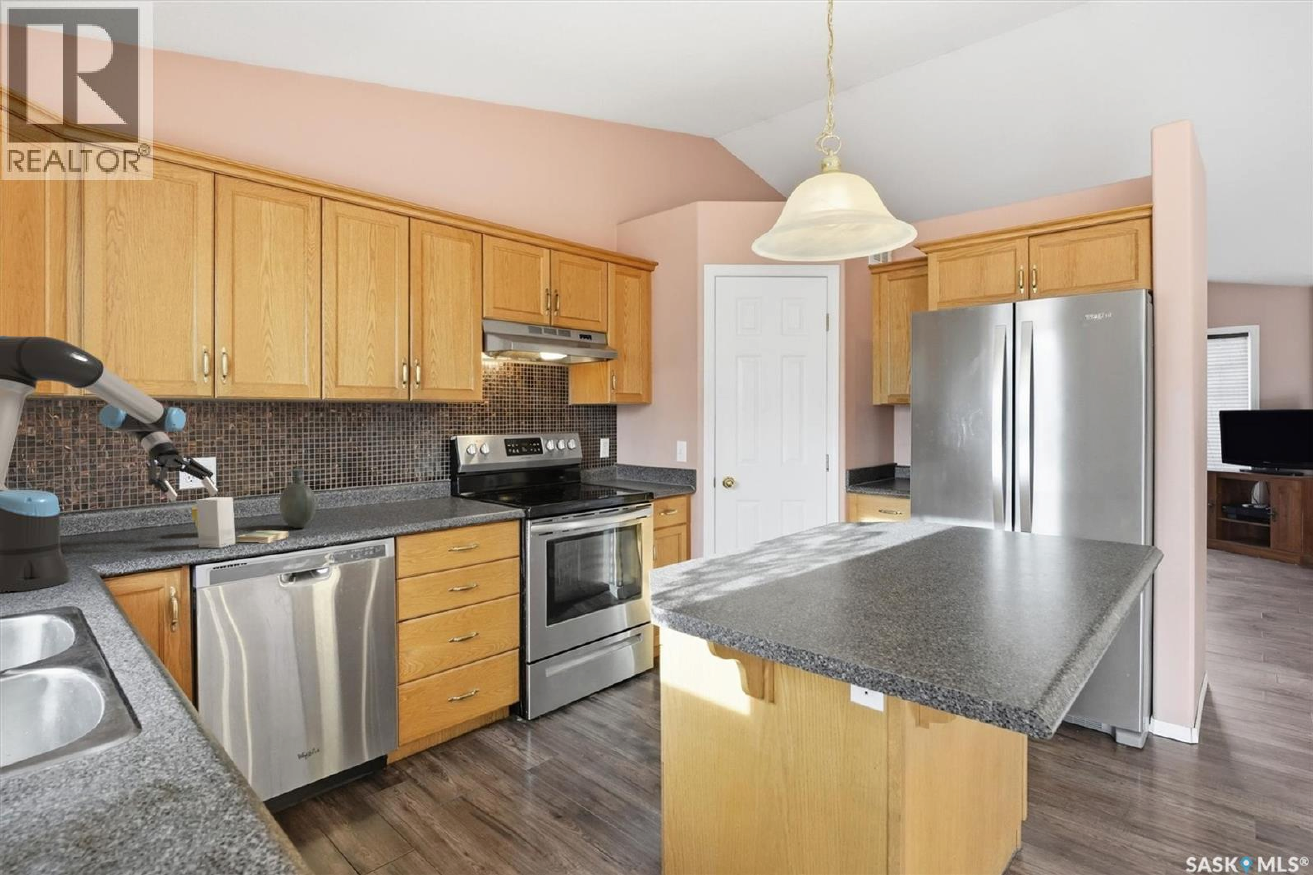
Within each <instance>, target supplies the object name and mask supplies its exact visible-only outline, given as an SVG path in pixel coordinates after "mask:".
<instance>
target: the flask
mask: <svg viewBox="0 0 1313 875" xmlns="http://www.w3.org/2000/svg"><path fill="white" fill-rule="evenodd" d="M304 471H305V469H303V468H293V469H290V470H289V472H291V473H292V475H293V482H292V483H291V482H290V483H289V484H288V485H287V486H286V487H285V488H284V489H283V490H282V491H281V494H280V497H279V504H278V505H279V511H280V515H281V517H282V520H283V521H284V522H285V523H286V524H287V525H288V526H290V527H292V528H294V529H302V528H304V527H306V526H307V525H308V524H309V523H311V521H312V520H313V518H314V516H315V514H316V510H317V499H316V495H315V493H314V491H313V489H312V488H311V487H310V486H309V485H308V484H306V483H304V482H303V481H302V478H303V477H302V475H303V472H304Z"/></svg>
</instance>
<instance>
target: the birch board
mask: <svg viewBox="0 0 1313 875" xmlns="http://www.w3.org/2000/svg"><path fill="white" fill-rule="evenodd" d="M289 533H290V532H289V531H288V530H256V531H255V530H254V531H251V532H247V533H245V534H240V535H237V536H235V543H236V542H259V543H258V544H269V543H273V542H276V540H277V541H279V540H283V539H287V538H289V537H288V536H290V535H289ZM286 537H287V538H286Z"/></svg>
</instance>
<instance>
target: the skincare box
mask: <svg viewBox="0 0 1313 875" xmlns="http://www.w3.org/2000/svg"><path fill="white" fill-rule="evenodd" d="M195 505H196V506H195V507H197V522H198V532H197V536H198V547H199V548H208V549H210V548H212V549H221V548H226V547H230V546H234V545H236V532H235V531H236V530H235V513H234V512H235V511H234V497H231V496H229V497H228V496H227V497H226V496H225V497H224V496H222V497H221V496H219V497H218V496H211V497H204V498H200V499H196V500H195ZM229 545H230V546H229Z"/></svg>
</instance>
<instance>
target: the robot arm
mask: <svg viewBox="0 0 1313 875" xmlns="http://www.w3.org/2000/svg"><path fill="white" fill-rule="evenodd" d="M39 381H40V382H44V381H45V382H46V381H49V382H50V381H51V382H56V383H57V382H58V383H64V384H67V385H69V386H71V387H72V388H75V389H83V390H86V391H88V392H89V393H90V394H92V395H94V396H96V397H98V398H99V399H101V400H103V401H105V402H106V403H108V405H105V406H103V407H102V409H100V411H99V414H98V420H99V422H100V423H101V425H103V426H105V427H107V428H109V429H111V430H115V431H118V432H120V433H124V434H126V435H128V436H132V437H134V438H135V439H136V440H137V442H138V443H139V444H140V445H141V447H142V448H143V450H144V451H145V453H147V455H148V456H149V459H148V460H147V462H146V463H145V466H146V467H147V472H148V473H147V479H148V480H147V482H148V485H149V486H153V487H154V488H157V489H158V488H159V490H160V491H161V492H162V493H163V494H165V495H166V497H167V498H168V499H169V501H170V502H172V503H173V502H174V501H175V500H176V499H177V498H178V497H179V496H178V494H177V492H176V491H175V490H174V488H173V487H172V486H171V484H170V483H169V481H168V480H165V477H166V474H167V472H169V473H171V472H181V473H186V474H188V475H190V476H192V477H194V478H197V479H198V480H201V484H202V485H203V486H204V488H205V489H206V491H207V492H208V493H209V495H210V496H211V497H215V496H216V494H217V492H218V491H219V490H218V489H217V487H216V486H215V482H214V481H213V480H212V477H213V476H214V474H215V473H214V472H213V471H211V470H210V469H208V468H207V467H206V466H203V465H202V464H200V463H199V462H198V461H196V460H195V459H194V458H193V457H192V456H191V455H187V456H186V457H181V455H180V451H179V450H178V448H177V447H176V446H175V444H174V443H173V442H172V440H171V439H170V437H168V435H167V434H166V433H165V432H168V433H170V432H178V431H181V430H183V428H184V427H185V425H186V422H187V421H186V420H187V418H186V414H185V412H184V410H183V409H181V408H179V407H174V406H173V407H167V406H165V405H164V404H162V403H160V402H159V401H157V400H156V399H154V398H152V397H151V396H150V395H148V394H146V393H145V392H143V391H142V390H141V389H139V388H137V387H135V386H134V385H132V384H131V383H129V382H127V381H126V380H125V379H123V378H121V377H120V376H118V375H117V374H115V373H113V372H112V371H111V370H109V369H108V368H106V367H105V364H104V362H103V361H102V360H101V359H99V358H97V357H96V356H94V355H93V354H91V353H89V352H88V351H86V350H84V349H82V348H80V347H79V346H76V345H73V344H72V343H69V342H67V341H64V340H62V339H59V338H55V337H51V336H37V335H36V336H13V335H12V336H9V335H0V591H8V592H7V593H11V592H10V591H17V592H25V591H33V590H39V589H40V590H41V589H45V588H51V587H54V586H58V585H62V584H64V583H67V582H69V581H71V570H70V568H68V565H67V562H66V560H65V558H64V556H63V553H62V551H61V513H60V512H61V508H60V504H59V499H58V496H57V495H56V494H54V493H52V492H50V491H46V490H45V491H44V490H35V489H9V488H8V487H7V486H6V484H5V481H6V478H7V474H8V470H9V465H10V462H11V458H12V453H13V449H14V445H15V440H16V437H17V434H18V429H19V425H20V420H21V417H22V414H23V413H22V412H23V408H24V404H25V400H26V397H27V396H29V395H30V394H33V393H35V391H36V388H37V385H38V384H37V383H38V382H39ZM183 466H184V467H183ZM157 467H160V468H161V469H160V470H159V475H157ZM157 476H158V477H157Z"/></svg>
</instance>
